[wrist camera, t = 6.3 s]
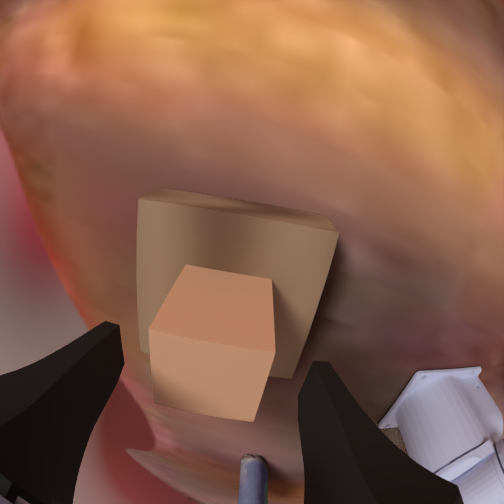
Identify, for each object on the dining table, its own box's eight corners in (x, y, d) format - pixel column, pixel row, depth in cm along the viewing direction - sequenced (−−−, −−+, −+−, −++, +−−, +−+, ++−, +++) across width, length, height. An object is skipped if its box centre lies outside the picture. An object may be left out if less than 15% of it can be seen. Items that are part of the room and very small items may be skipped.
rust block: (271, 279, 13) (275, 352, 8) (256, 345, 14) (253, 421, 10) (185, 264, 13) (148, 328, 8) (181, 332, 14) (154, 403, 10)
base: (325, 215, 15) (339, 233, 12) (288, 346, 18) (291, 378, 15) (160, 187, 15) (138, 198, 12) (155, 323, 18) (140, 351, 15)
